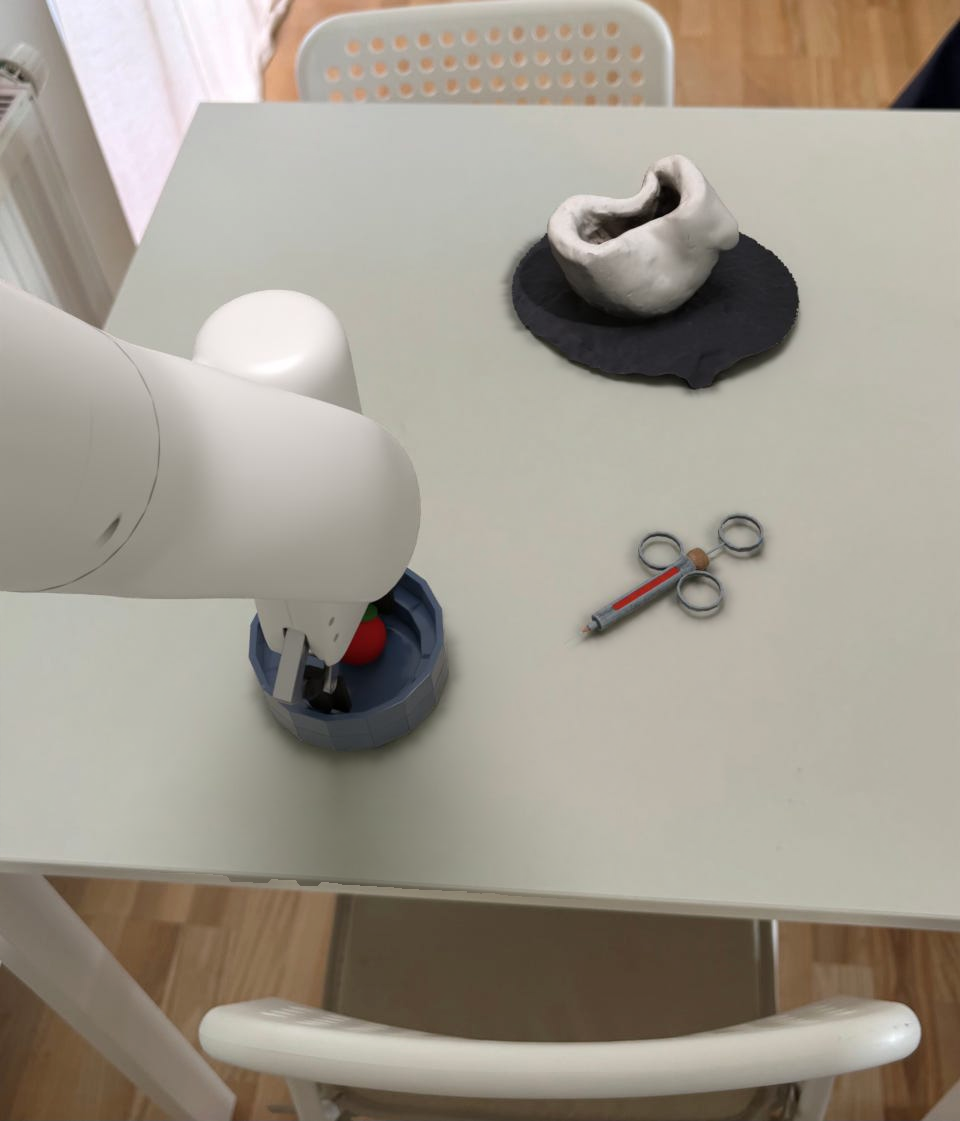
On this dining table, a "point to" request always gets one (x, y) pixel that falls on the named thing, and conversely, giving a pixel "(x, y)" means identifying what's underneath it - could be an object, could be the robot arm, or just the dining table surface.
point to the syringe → (668, 578)
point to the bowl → (371, 677)
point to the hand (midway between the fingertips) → (352, 653)
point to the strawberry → (366, 639)
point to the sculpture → (655, 281)
